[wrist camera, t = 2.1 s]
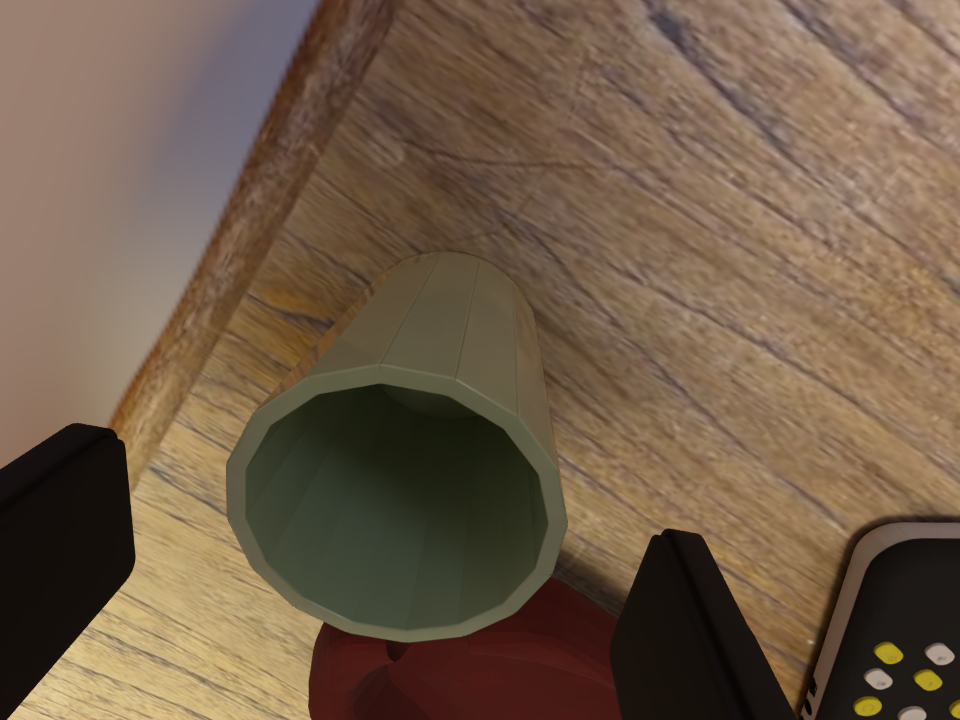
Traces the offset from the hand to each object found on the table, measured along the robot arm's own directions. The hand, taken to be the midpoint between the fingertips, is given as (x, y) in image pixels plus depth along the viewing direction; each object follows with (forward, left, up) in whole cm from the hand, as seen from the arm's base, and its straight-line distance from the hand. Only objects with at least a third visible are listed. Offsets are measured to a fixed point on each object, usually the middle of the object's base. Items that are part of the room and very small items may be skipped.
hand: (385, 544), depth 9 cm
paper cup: (0, 0, -9) cm, 9 cm away
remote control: (+9, +21, -9) cm, 24 cm away
